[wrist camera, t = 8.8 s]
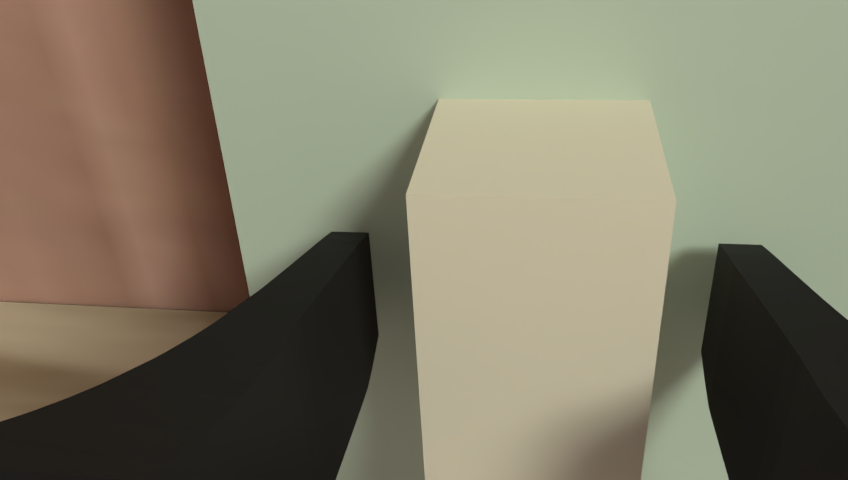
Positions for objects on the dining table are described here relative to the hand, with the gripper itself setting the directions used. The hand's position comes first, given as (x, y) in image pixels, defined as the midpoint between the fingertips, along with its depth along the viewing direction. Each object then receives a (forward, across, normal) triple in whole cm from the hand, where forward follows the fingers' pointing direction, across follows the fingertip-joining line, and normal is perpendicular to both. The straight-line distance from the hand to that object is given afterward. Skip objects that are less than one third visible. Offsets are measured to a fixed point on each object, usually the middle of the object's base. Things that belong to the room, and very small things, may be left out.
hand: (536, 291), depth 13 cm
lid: (+2, 0, 0) cm, 2 cm away
